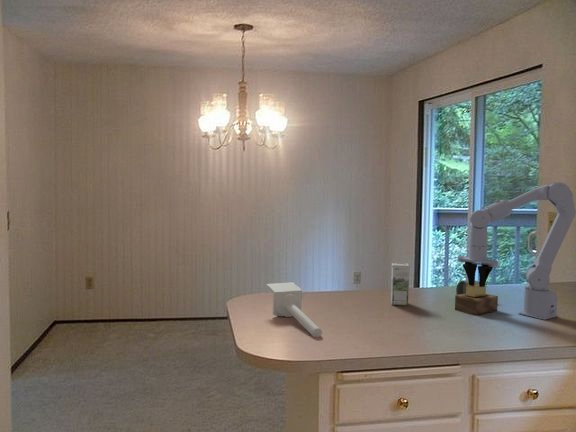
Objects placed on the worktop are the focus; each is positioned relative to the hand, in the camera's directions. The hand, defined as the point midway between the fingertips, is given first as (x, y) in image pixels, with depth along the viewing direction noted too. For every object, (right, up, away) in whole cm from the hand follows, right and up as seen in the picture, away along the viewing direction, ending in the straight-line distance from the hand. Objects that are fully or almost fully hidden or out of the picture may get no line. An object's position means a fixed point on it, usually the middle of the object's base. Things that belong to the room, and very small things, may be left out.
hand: (476, 285), depth 187 cm
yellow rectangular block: (0, -3, 0) cm, 3 cm away
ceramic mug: (+2, -8, +17) cm, 19 cm away
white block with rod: (-61, -10, -18) cm, 65 cm away
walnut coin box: (0, -8, +1) cm, 8 cm away
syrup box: (-25, -8, +9) cm, 27 cm away
